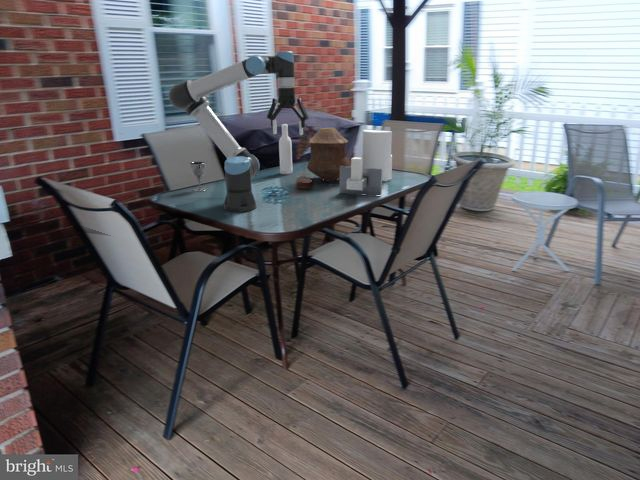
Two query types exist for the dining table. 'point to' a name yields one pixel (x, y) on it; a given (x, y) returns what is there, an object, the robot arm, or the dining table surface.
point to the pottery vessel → (328, 154)
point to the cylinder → (378, 151)
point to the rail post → (356, 168)
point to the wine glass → (198, 172)
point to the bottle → (285, 151)
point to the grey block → (367, 186)
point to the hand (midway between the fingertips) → (288, 134)
